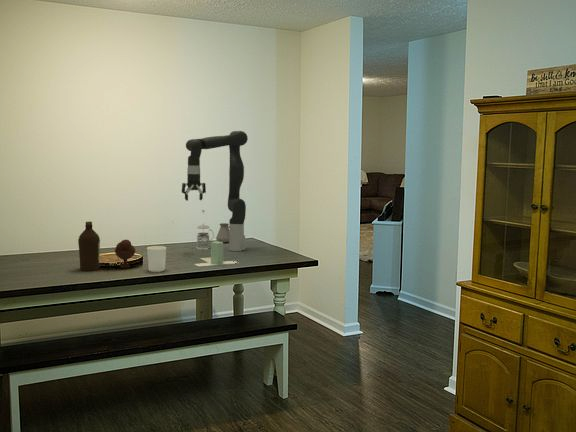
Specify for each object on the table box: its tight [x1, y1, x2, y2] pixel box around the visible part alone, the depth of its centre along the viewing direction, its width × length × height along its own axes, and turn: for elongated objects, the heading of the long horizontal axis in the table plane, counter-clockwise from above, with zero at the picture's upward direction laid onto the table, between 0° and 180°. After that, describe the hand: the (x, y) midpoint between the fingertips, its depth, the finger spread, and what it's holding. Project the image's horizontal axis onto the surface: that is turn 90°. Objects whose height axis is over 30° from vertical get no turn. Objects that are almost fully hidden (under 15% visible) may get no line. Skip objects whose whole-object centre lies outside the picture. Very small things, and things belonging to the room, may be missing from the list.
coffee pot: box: [215, 222, 229, 242], centre depth 386 cm, size 21×12×15 cm, turn 31°
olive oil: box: [77, 221, 101, 272], centre depth 294 cm, size 11×11×25 cm
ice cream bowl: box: [114, 239, 136, 269], centre depth 302 cm, size 11×11×15 cm
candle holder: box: [146, 245, 167, 273], centre depth 295 cm, size 10×10×12 cm
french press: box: [195, 209, 214, 250], centre depth 364 cm, size 10×12×25 cm
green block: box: [210, 240, 224, 266], centre depth 315 cm, size 5×5×12 cm
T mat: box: [194, 256, 238, 267], centre depth 322 cm, size 22×24×1 cm
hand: (193, 200), depth 337 cm, fingers open, 8 cm apart
